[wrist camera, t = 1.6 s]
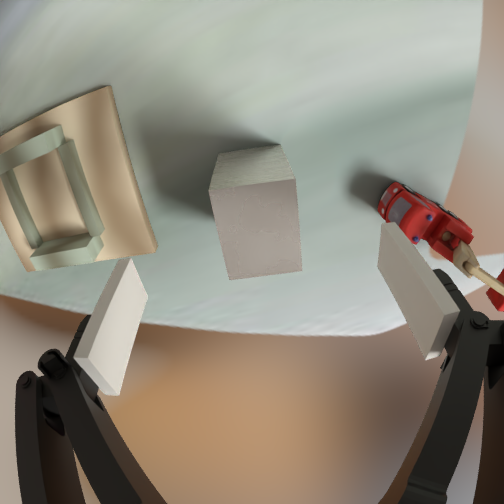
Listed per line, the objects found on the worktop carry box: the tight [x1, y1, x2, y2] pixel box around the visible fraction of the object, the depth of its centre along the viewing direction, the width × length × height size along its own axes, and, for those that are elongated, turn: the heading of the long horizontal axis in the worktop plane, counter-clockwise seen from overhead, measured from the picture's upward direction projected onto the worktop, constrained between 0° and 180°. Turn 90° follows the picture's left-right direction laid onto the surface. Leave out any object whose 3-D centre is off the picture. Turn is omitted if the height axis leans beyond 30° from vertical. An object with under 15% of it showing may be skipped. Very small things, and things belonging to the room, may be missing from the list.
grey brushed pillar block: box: [208, 145, 302, 280], centre depth 20 cm, size 4×6×7 cm
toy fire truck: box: [378, 182, 504, 312], centre depth 21 cm, size 3×14×10 cm, turn 69°
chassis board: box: [0, 86, 158, 272], centre depth 21 cm, size 16×14×4 cm
